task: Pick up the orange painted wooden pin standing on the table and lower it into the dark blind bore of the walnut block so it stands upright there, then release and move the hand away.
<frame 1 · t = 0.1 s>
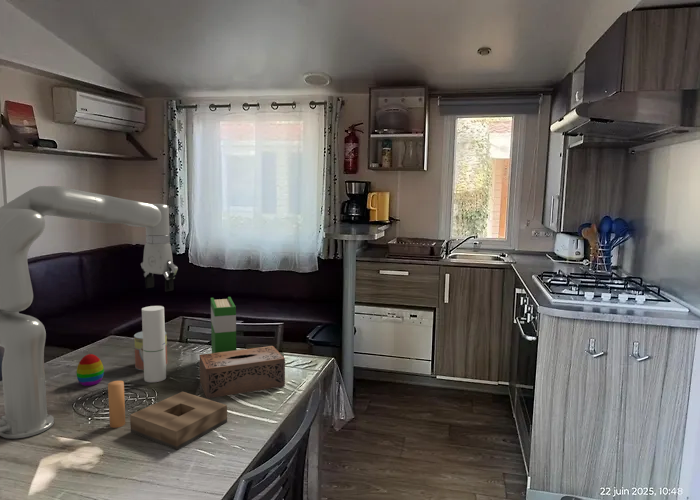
hand: (159, 289, 169), 31 cm above the table, tool pointing down, fingers open, 9 cm apart
pin: (117, 424, 137), on the table
cylindrical container: (155, 378, 171), on the table
canned food: (151, 365, 183), on the table
tissue box cover: (242, 385, 167), on the table
hardback book: (223, 364, 186), on the table
decorative egg: (90, 383, 166), on the table
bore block: (180, 426, 136), on the table
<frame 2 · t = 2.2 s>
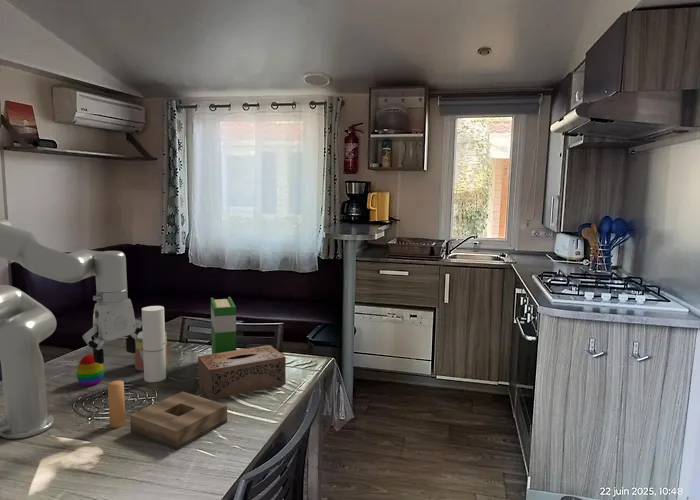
hand: (115, 357, 135), 19 cm above the table, tool pointing down, fingers open, 9 cm apart
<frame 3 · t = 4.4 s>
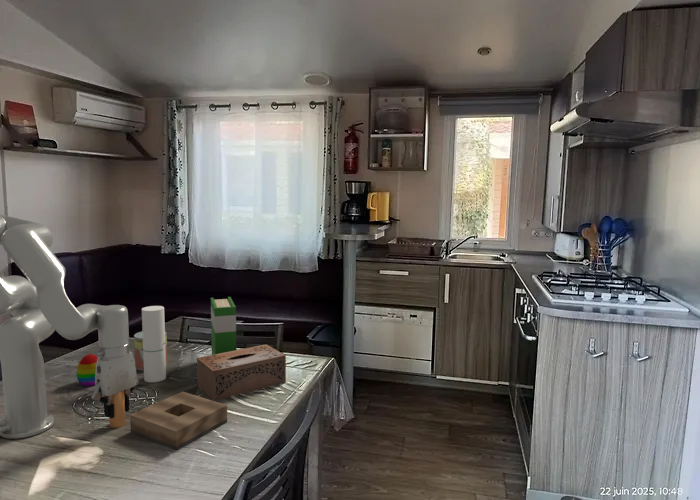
hand: (117, 413, 137), 3 cm above the table, tool pointing down, fingers closed on pin, 4 cm apart
pin: (117, 424, 137), on the table, touching gripper
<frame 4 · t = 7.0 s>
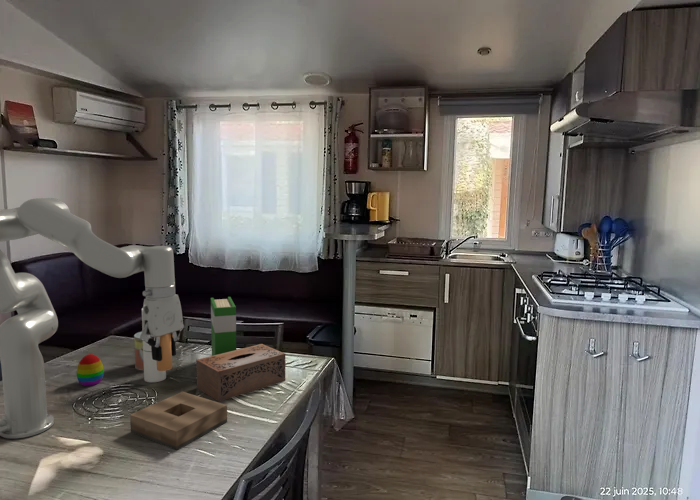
hand: (164, 356, 134), 20 cm above the table, tool pointing down, fingers closed on pin, 4 cm apart
pin: (164, 368, 135), point 17 cm above the table, touching gripper
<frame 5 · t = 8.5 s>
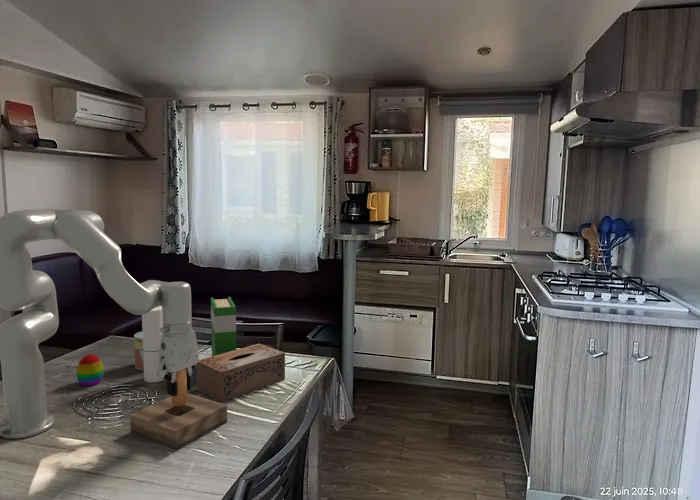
hand: (179, 391, 135), 10 cm above the table, tool pointing down, fingers closed on pin, 4 cm apart
pin: (179, 402, 135), point 7 cm above the table, touching gripper
when the fingers open (6 cm above the table, at t = 9.8 s): pin drops 1 cm, resting on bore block.
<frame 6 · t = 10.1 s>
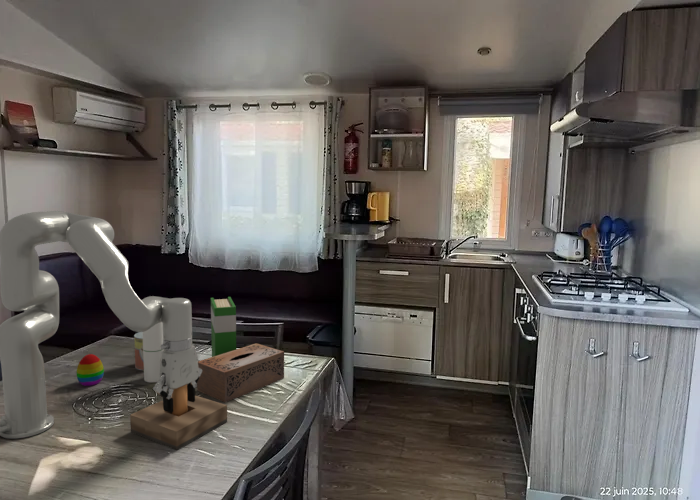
hand: (179, 405, 136), 6 cm above the table, tool pointing down, fingers open, 7 cm apart
pin: (180, 423, 136), point 1 cm above the table, touching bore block
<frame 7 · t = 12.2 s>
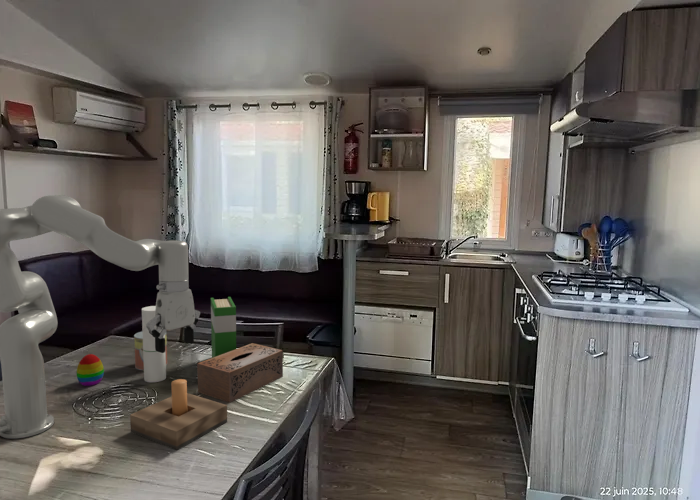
hand: (175, 347, 135), 23 cm above the table, tool pointing down, fingers open, 9 cm apart
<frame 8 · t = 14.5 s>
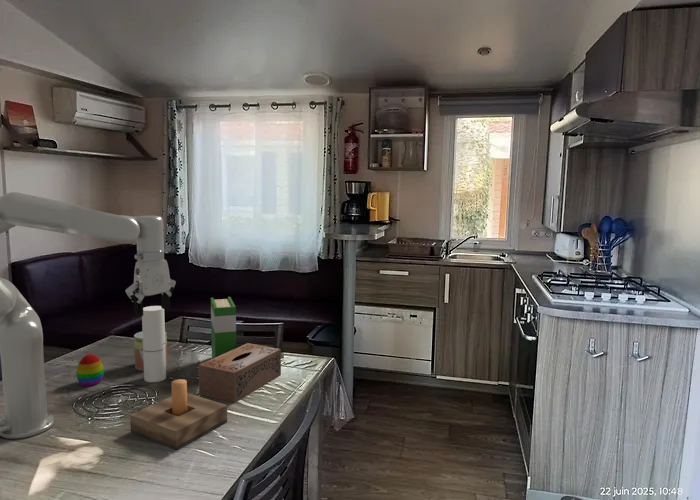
hand: (152, 312, 150), 28 cm above the table, tool pointing down, fingers open, 9 cm apart
at the end: pin 0.1 cm off-centre on the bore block, point 1.0 cm above the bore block's base; pin tilted 0°; the gripper is holding nothing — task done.
